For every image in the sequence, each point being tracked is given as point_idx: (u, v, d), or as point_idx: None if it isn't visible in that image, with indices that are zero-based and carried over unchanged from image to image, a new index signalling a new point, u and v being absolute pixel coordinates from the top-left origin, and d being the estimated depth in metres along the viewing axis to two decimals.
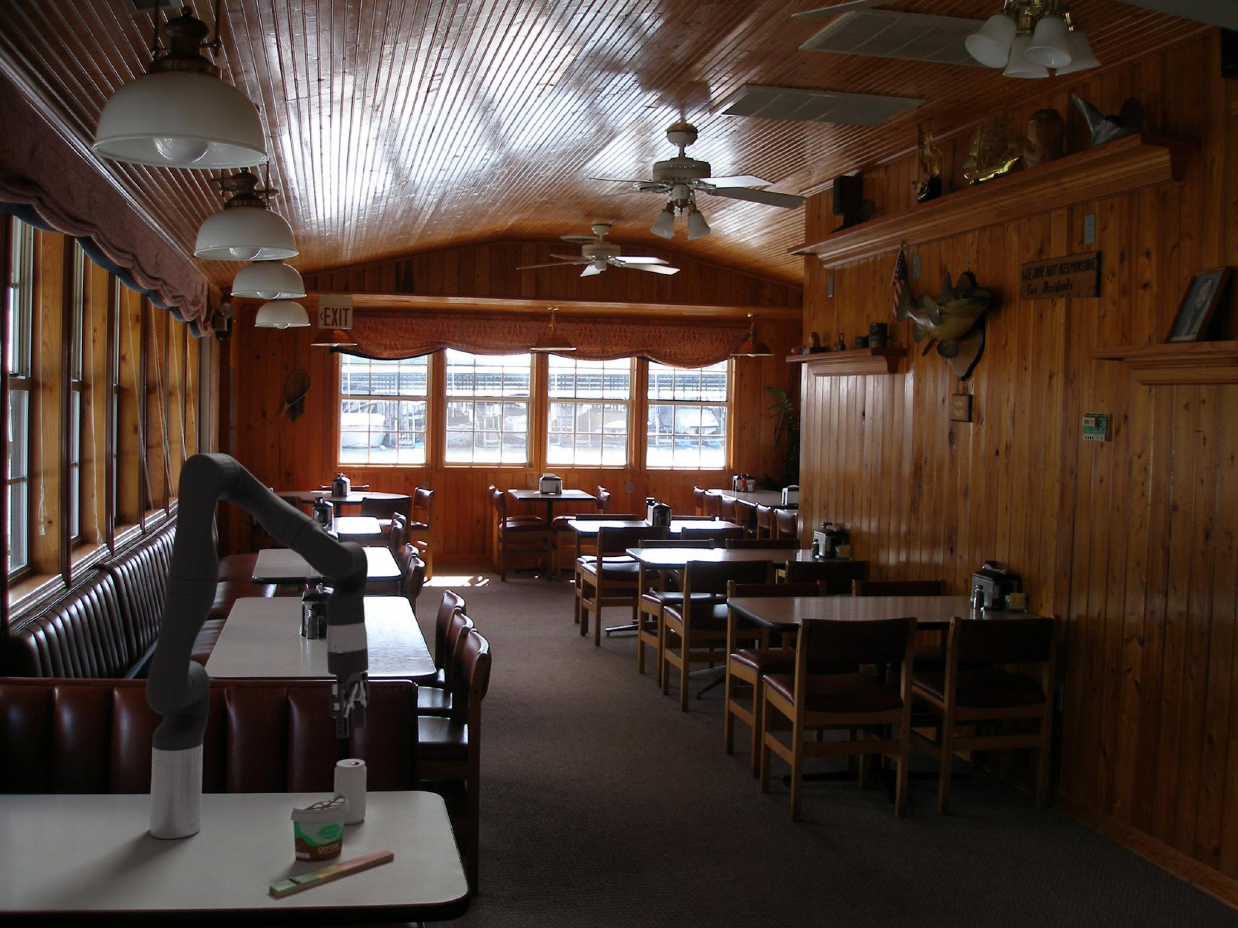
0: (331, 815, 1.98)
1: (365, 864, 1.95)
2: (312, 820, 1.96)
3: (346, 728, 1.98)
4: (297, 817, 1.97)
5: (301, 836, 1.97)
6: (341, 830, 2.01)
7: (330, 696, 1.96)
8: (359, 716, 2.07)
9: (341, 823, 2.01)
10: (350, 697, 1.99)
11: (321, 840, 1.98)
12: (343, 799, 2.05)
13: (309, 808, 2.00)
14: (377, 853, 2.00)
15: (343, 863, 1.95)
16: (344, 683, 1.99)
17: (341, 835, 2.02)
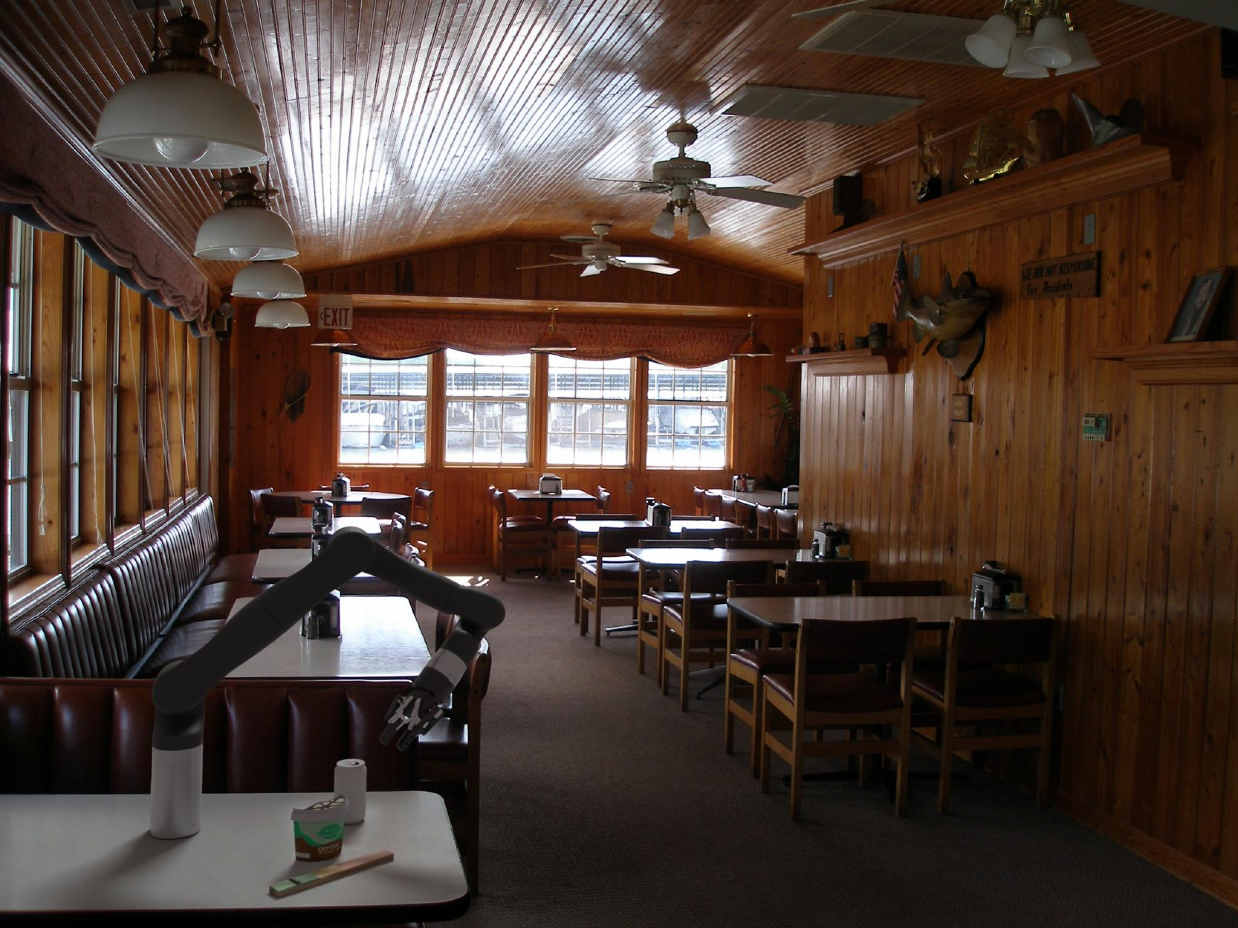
0: (331, 815, 1.98)
1: (365, 864, 1.95)
2: (312, 820, 1.96)
3: None
4: (297, 817, 1.97)
5: (301, 836, 1.97)
6: (341, 830, 2.01)
7: (431, 716, 2.10)
8: (390, 734, 2.14)
9: (341, 823, 2.01)
10: None
11: (321, 840, 1.98)
12: (343, 799, 2.05)
13: (309, 808, 2.00)
14: (377, 853, 2.00)
15: (343, 863, 1.95)
16: None
17: (341, 835, 2.02)
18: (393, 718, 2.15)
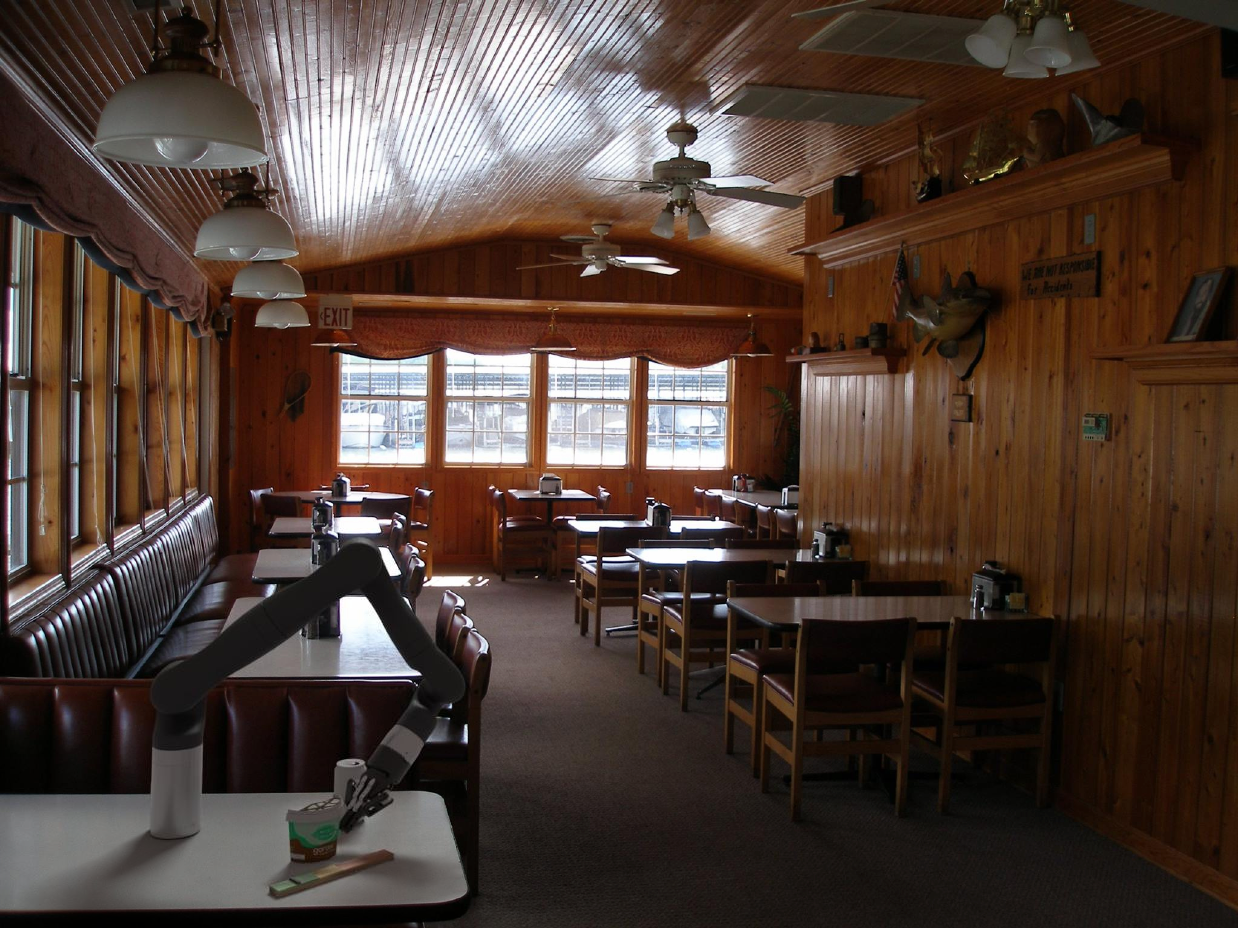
0: (326, 816, 1.97)
1: (365, 864, 1.95)
2: (307, 821, 1.96)
3: None
4: (292, 818, 1.96)
5: (296, 837, 1.97)
6: (336, 831, 2.01)
7: (378, 802, 2.03)
8: None
9: (336, 824, 2.00)
10: None
11: (316, 841, 1.97)
12: (338, 800, 2.04)
13: (304, 809, 1.99)
14: (377, 853, 2.00)
15: (343, 863, 1.95)
16: (390, 790, 2.07)
17: (336, 836, 2.01)
18: (353, 803, 2.06)
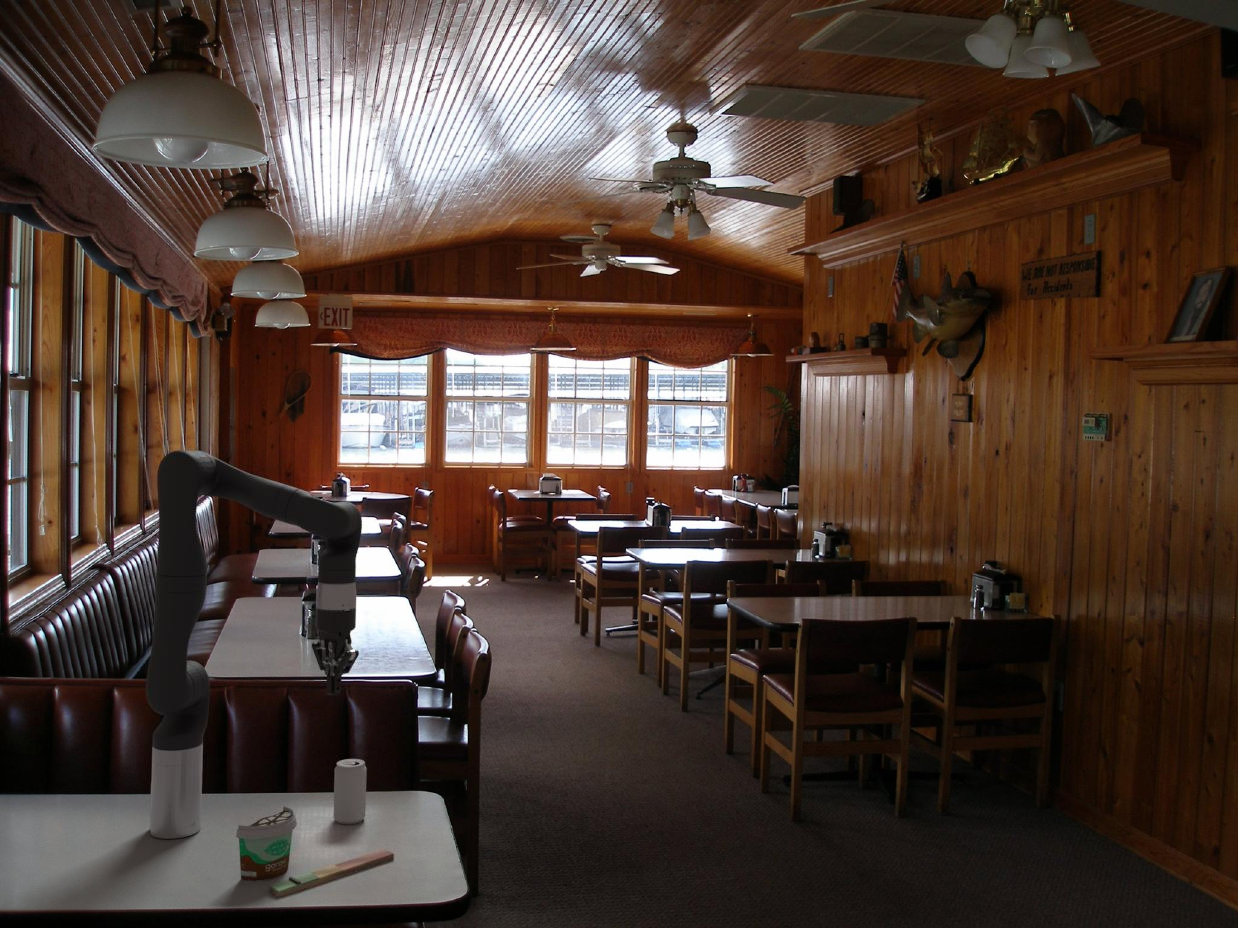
0: (280, 831, 1.90)
1: (365, 864, 1.95)
2: (260, 837, 1.87)
3: None
4: (243, 834, 1.87)
5: (247, 854, 1.88)
6: (289, 846, 1.93)
7: (345, 662, 2.02)
8: None
9: (289, 839, 1.93)
10: None
11: (269, 857, 1.89)
12: (289, 813, 1.96)
13: (255, 824, 1.91)
14: (377, 853, 2.00)
15: (343, 863, 1.95)
16: (350, 643, 2.04)
17: (288, 851, 1.93)
18: (327, 669, 2.06)
